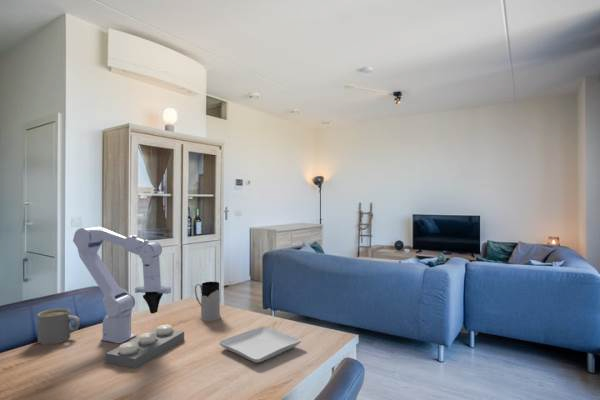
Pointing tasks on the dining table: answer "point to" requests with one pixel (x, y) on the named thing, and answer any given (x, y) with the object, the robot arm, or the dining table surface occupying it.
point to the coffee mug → (55, 325)
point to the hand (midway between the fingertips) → (154, 312)
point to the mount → (144, 350)
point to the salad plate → (260, 343)
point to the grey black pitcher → (209, 301)
